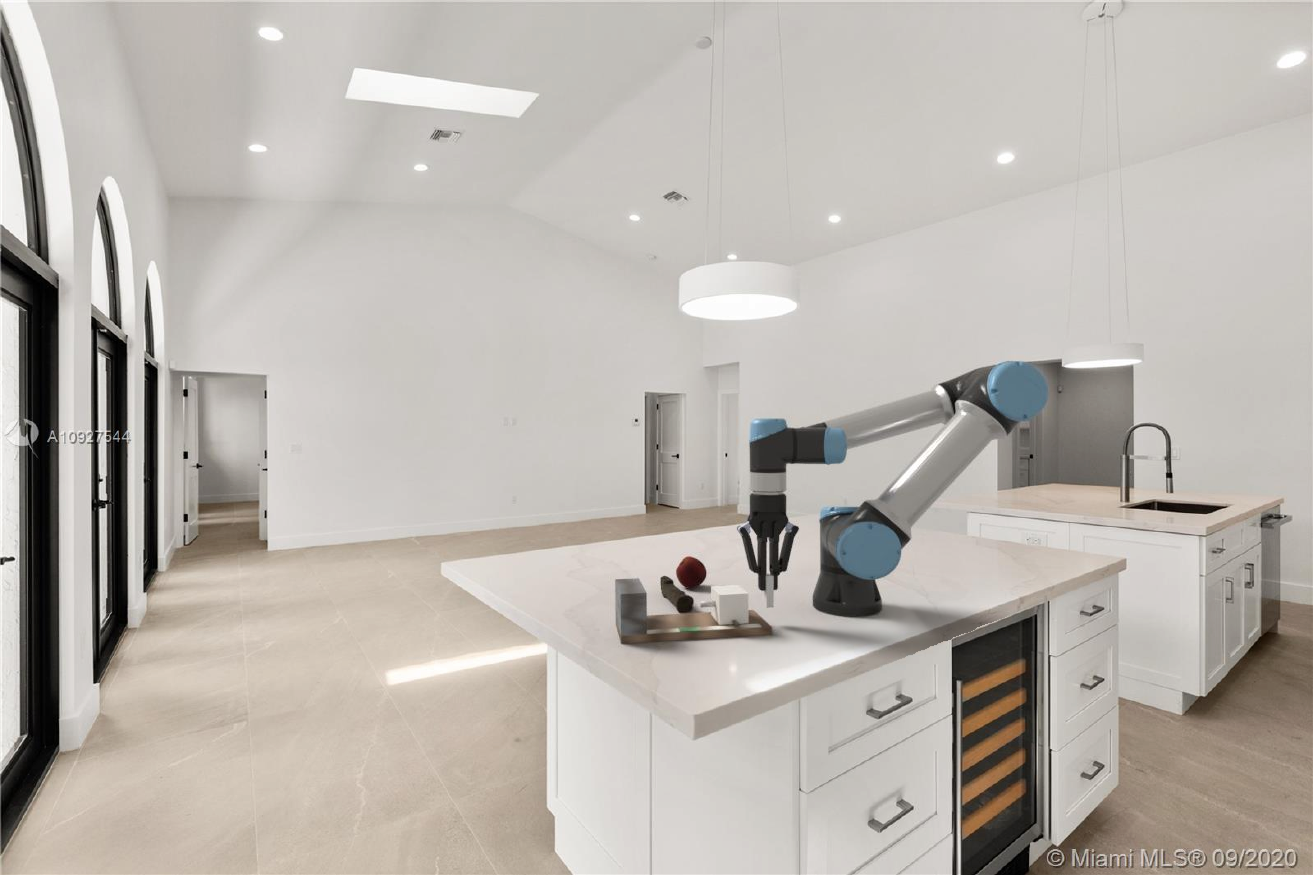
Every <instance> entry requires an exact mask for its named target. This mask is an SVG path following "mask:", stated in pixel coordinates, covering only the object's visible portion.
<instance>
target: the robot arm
mask: <svg viewBox="0 0 1313 875" xmlns="http://www.w3.org/2000/svg"><path fill="white" fill-rule="evenodd" d="M1048 385H1049V384H1048V382H1047V379H1046V377H1045V375H1044V374H1043V372H1042V371H1040V369H1038V367H1036V366H1035V365H1033V364H1031V363H1029V362H1025V361H1018V360H1015V361H1014V360H1007V361H1002V362H1000V363H998V364H992V365H987V366H982V367H978V368H975V369H973V370H970V371H968V372H966V373H963V374H961V375H959V376H956V377H954V378H952V379H949V380H946V381H942V382H940V383H938V384H934V385H933V386H932V388H931V389H930V390H929V391H926V392H922V393H919V394H914V395H911V396H908V397H905V398H902V399H898V400H894V401H891V402H888V403H884V404H881V405H877V406H874V407H871V408H867V409H863V410H860V411H856V412H854V413H852V412H851V413H850V414H846V415H843V416H839V417H836V418H832V419H829V420H826V421H825V420H824V421H823V422H818V423H815V424H812V425H811V424H810V425H809V426H802V427H788V424H787V420H786V419H785V418H780V417H779V418H772V417H771V418H769V417H768V418H766V417H765V418H755V419H753V420H751V422H750V425H749V428H750V429H749V440H748V441H749V442H748V443H749V444H748V445H749V491H751V493H750V494H749V516H748V517H747V521H746V522H745V523H743V524H742V525H738V526H737V527H736V531H737V532H738V533H739V535H740V536H741V540H742V542H743V547H744V552H745V556H746V560H747V565H748V569H749V570H750V571H751V572H753V573H754V574H757V587H758V589H759V591H761V592H762V593H761V594H762V595H761V596H762V605H763V606H764V607H765V608H767V609H769V608H774V607H775V606H774V601H775V600H774V597H775V596H774V594H775V593H774V591H778V589H779V585H778V584H779V576H780V574H781V573H785V572H787V571H788V566H789V562H790V557H791V554H792V549H793V545H794V539H795V537H796V535H797V534H798V533H799V530H800V528H799V526H798V525H796V524H794V523H791V522H790V520H789V517H788V515H787V495H786V493H784V492H786V491H787V465H789V464H791V465H794V464H796V465H797V464H798V465H801V464H802V465H826V466H828V465H839V464H842V463H843V462H844V461H845V460H846V457H847V451H848V450H851V449H855V448H858V447H861V446H865V445H868V444H872V443H875V442H879V441H882V440H886V439H889V438H893V437H897V436H900V435H903V434H907V433H911V432H914V431H917V430H922V429H924V428H928V427H932V426H935V425H939V424H943V425H944V426H942V428H941V429H939V431H938V432H937V433H936V434H935V436H933V438H931V440H929V442H928V443H927V444H926V445H925V446H924V447H923V448H922V449H921V450H920V452H918V454H916V456H915V457H913V459H912V460H911V461H910V462H909V463H908V464H907V466H906V467H905V468H904V469H903V470H902V471H900V473H899V474H898V475H897V477H896V478H895V479H893V481H891V483H890V484H889V485H888V487H886V489H885V490H883V492H882V493H881V494H880V495H879V496H878V497H877V498H875V499H865V500H864V501H863V502H862V503H861V504H860V505H859V506H824V507H822V508H821V509H820V512H819V513H820V514H819V519H818V521H819V546H820V547H819V558H820V559H819V564H820V565H819V568H820V569H819V574H818V575H819V576H818V578H817V582H816V583H815V587H814V590H813V593H812V607H813V608H815V609H816V610H818V611H820V612H823V613H826V614H829V615H830V614H831V615H837V616H844V617H868V616H869V617H870V616H874V615H877V614H880V613H881V612H882V611H883V598H882V596H881V593H880V590H879V587H878V584H877V582H876V580H879V579H882V578H885V577H887V576H889V575H890V574H891V573H893V571H895V570H896V568H897V566H898V565H899V563H900V561H901V557H902V550H903V549H904V548H905V546H907V544H908V543H909V542H910V541H911V540H912V538H913V537H912V527H914V525H915V524H916V523H917V522H918V520H920V518H922V516H923V515H924V514H925V513H926V512H928V510H929V509H931V507H932V506H933V504H935V502H937V500H938V499H939V498H940V497H941V496H942V495H943V494H944V493H945V492H946V490H947V489H948V488H949V487H950V486H952V485H953V483H954V482H955V481H956V480H957V479H958V478H959V476H960V475H962V473H963V472H964V471H965V470H966V469H967V468H968V467H969V466H970V465H971V463H972V462H973V461H974V460H975V459H976V458H977V457H978V456H979V455H980V453H982V452H983V451H984V450H985V448H986V447H987V446H988V445H989V444H990V443H991V442H992V441H994V440H1004V439H1006V438H1007V437H1008V435H1009V434H1010V433H1012V432H1013V430H1014V429H1015V428H1016V427H1017V426H1018V425H1019V424H1020V423H1021V422H1023V421H1025V422H1026V421H1029V420H1030V419H1033V418H1035V417H1036V416H1038V415H1039V414H1040V413H1041V412H1042V411H1044V409H1045V407H1046V405H1047V403H1048V400H1049V395H1050V394H1049V393H1050V392H1049V387H1048ZM751 529H752V531H753V532H754V534H755V535H756V541H757V542H756V544H757V548H756V549H757V550H756V551H757V552H756V553H757V555H755V554H756V553H755V550H754V546H753V542H752V538H751V536H750V534H751ZM783 531H785V533H784V537H783V540H782V543H781V544H782V545H781V548H780V547H779V543H780V535H781V534H782V532H783ZM768 545H769V546H768ZM767 548H769V549H767ZM779 548H780V549H779ZM767 550H768V552H769V553H768V552H767ZM779 550H780V554H779ZM767 553H768V554H769V555H767ZM756 556H757V558H756ZM767 557H769V558H767ZM767 559H768V560H767ZM767 562H768V563H767ZM767 564H769V566H767ZM767 567H768V569H769V572H767Z"/></svg>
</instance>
